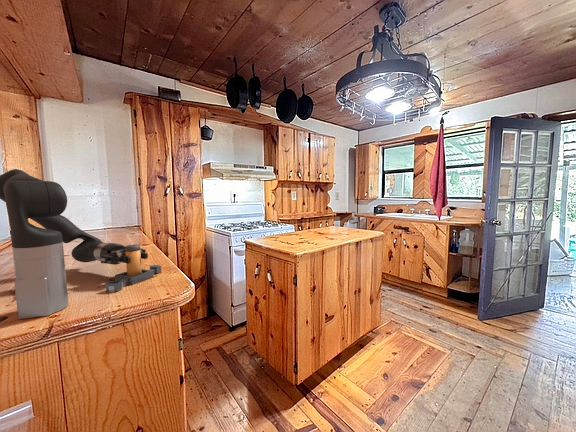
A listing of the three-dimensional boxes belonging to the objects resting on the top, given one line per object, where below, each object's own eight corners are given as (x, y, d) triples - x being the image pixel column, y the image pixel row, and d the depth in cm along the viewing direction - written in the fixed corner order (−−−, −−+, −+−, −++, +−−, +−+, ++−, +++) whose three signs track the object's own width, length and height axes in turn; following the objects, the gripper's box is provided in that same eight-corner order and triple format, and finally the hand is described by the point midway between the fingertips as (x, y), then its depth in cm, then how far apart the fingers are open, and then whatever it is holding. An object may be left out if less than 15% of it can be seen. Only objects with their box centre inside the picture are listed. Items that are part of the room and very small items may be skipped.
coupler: (140, 281, 88) (138, 246, 87) (125, 282, 87) (123, 247, 86) (143, 277, 92) (141, 244, 91) (129, 278, 91) (127, 245, 90)
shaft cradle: (113, 293, 77) (112, 284, 77) (93, 289, 81) (93, 281, 81) (168, 273, 96) (168, 266, 96) (150, 270, 100) (150, 264, 99)
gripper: (87, 246, 89) (114, 251, 81) (129, 239, 101) (156, 243, 94) (89, 268, 90) (116, 274, 82) (130, 258, 102) (158, 263, 94)
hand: (138, 258), depth 88 cm, fingers open, 5 cm apart
